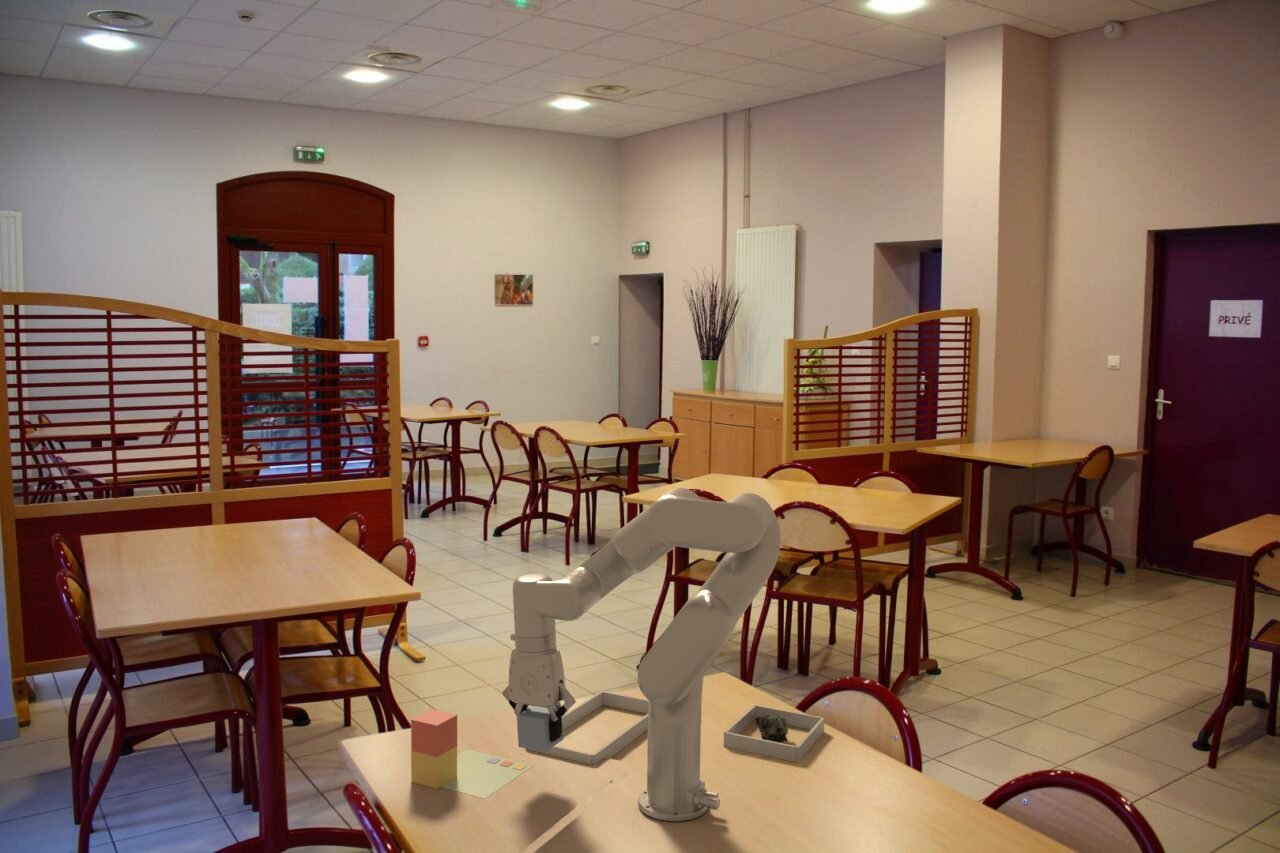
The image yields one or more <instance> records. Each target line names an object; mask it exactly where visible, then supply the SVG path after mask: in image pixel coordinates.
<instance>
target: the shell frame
mask: <svg viewBox="0 0 1280 853" xmlns="http://www.w3.org/2000/svg"><path fill="white" fill-rule="evenodd" d="M771 714H777V715H781V716H782V717H784V718H785V719H786V721H787V726H791V727H796V728H800V729H801V728H802V729H804V730H805V729H806V730H809V731H808V733H807V734H806V735H804V737H803V738H802V739H801V741H800V742H799V743H798V744H797V745H792V744H787V743H784V742H780V743H778V742H773V741H768V740H763V739H762V738H759V737H753V736H748V735H743V734H741V733H742V732H743V731H745V730H746V728H747V727H749V726H750V725H751V724H752V723H753V722H754V721H755V720H757V719H756V718H758V717H760V716H761V717H764V716H768V715H771ZM824 732H825V717H822V716H817V715H812V714H807V713H801V712H796V711H791V710H787V709H785V710H784V709H780V708H776V707H770V706H765V705H759V704H753V705H752V706H751V707H750V708H748V710H747V711H745V712H744V713H743V714H742V715H741V716H739V718H738V719H736V721H734V722H733V723H732V724H731V725H730V726H729V727H727V729H725V730H724V732H723V747H725V748H727V749H728V748H729V749H733V750H736V751H737V750H738V751H744V752H748V753H752V754H756V755H761V756H766V757H771V758H775V759H781V760H786V761H789V762H800V761H801V760H802V759H803V757H804V756H805V755H806V754H807V753H808V751H810V749H811V747H813V745H814V744H815V743H816V742H817V740H819V738H820V737H821V736H822V735H823V733H824Z"/></svg>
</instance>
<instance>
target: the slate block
mask: <svg viewBox="0 0 1280 853" xmlns="http://www.w3.org/2000/svg"><path fill="white" fill-rule="evenodd" d="M555 710H556V709H555ZM550 720H551V717H550V714H549V711H548V709H547V708H545V707H538V706H529V707H528V709H527V710H525V711H523V712H522V713H520V714H518V715H516V722H517V723H516V724H517V725H516V726H517V745H518V748H522V749H526V750H528V749H533V750H539V751H545V752H546V751H548V750H549V749H550V748H552V747H553V746H557V745H558V744H559V743H561V742H562V741H563V740H564V733H563V731H564V730H563V728H562V734H561V737H560V738H559V739H557V740H556V741H554V742H550V735H549V721H550Z"/></svg>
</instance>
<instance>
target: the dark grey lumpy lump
mask: <svg viewBox="0 0 1280 853" xmlns="http://www.w3.org/2000/svg"><path fill="white" fill-rule="evenodd" d="M755 720H756V725H757V727H758V731H759V734H760V736H761V738H760V739H763V740H768V741H773V742H778V743H779V742H780V743H784V741H785V743H788V742H789V741H788V738H787V735H788V733H789V729H788V725H787V721H786V719H785V718H784V717H782V716H781V715H777V714H771V715H768V716H764V717H761V716H760V717H758V718H756V719H755ZM760 732H761V733H760ZM763 732H764V733H763Z"/></svg>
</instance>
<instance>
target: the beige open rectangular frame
mask: <svg viewBox="0 0 1280 853" xmlns="http://www.w3.org/2000/svg"><path fill="white" fill-rule="evenodd" d="M602 706H608V707H613V708H616V709H617V708H618V709H622V710H626V711H632V712H636V713H642V714H645V715H644V716H643V717H641V718H640V719H638V720H637V721H636V722H634V723H633V724H631V726H629V727H628V728H626V729H624V731H622V732H621V733H619V734H618V735H617V736H615V737H614V738H612V739H611V740H610V741H609V742H607V743H605V745H603V746H602V747H600V748H599V749H598V750H596V751H595V752H593V753H591V752H590V753H588V752H586V751H582V750H581V751H580V750H576V749H572V748H567V747H563V746H559V745H555V746H553V747H552V748H550V749H549V750H548V751H546V752H545V751H539V750H533V749H527V750H528V751H533V752H537V753H541V754H546V755H550V756H554V757H558V758H563V759H565V760H566V759H567V760H572V761H576V762H580V763H584V764H589V765H596V764H597V763H599V762H600V761H601V760H602V759H604V758H606V759H611V758H612V757H613V756H615V755H616V754H617V753H618V752H620V751H621V750H623V749H625V747H626V746H628V745H629V744H630V743H632V742H633V741H635V740H636V739H637V738H638V737H639V736H641V735H643V732H644V733H645V732H646V731H648V708H649V700H648V699H647V698H646V699H645V698H640V697H636V696H632V695H631V696H630V695H626V694H621V693H615V692H609V691H603V690H601V691H598V693H596V694H593V696H591V697H589V698H587V699H586V700H585V701H583V702H582V703H580V704H578V705H577V706H575V707H574V708H572V709H570V710H568V711H567V712H566V713H565V714H564V716H562V728H563V731H565V730H566V729H568V728H569V726H570V727H571V726H572V724H573V725H574V724H576V723H577V722H578V721H580V720H582V719H584V718H585V717H586V716H588V715H589V714H591V713H593V712H594V711H595V710H598V709H599V708H600V707H602ZM567 727H568V728H567ZM564 729H565V730H564Z"/></svg>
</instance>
